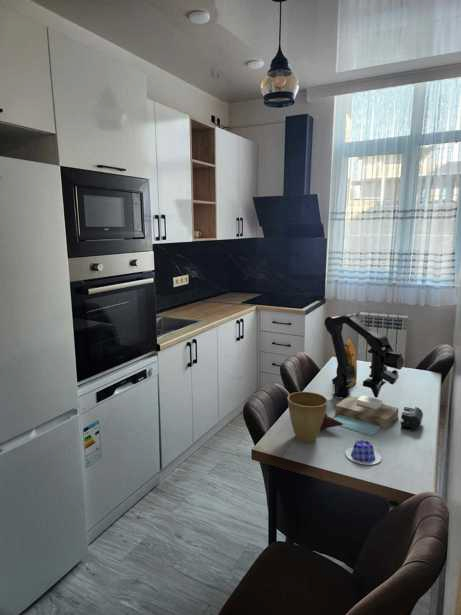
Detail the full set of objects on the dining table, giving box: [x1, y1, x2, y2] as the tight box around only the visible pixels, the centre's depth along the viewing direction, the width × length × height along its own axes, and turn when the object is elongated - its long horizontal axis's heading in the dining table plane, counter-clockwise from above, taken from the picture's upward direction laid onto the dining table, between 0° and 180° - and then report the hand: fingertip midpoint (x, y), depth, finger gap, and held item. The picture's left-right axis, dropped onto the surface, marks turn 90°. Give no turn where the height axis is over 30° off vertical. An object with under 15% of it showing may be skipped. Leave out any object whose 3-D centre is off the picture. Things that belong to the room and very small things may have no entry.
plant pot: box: [287, 391, 328, 443], centre depth 154 cm, size 15×15×16 cm
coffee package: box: [344, 339, 358, 387], centre depth 213 cm, size 10×12×22 cm
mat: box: [333, 414, 382, 437], centre depth 165 cm, size 18×9×1 cm, turn 50°
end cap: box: [400, 406, 424, 432], centre depth 164 cm, size 10×7×7 cm
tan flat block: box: [335, 395, 399, 429], centre depth 174 cm, size 22×14×4 cm, turn 50°
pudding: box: [345, 439, 382, 466], centre depth 142 cm, size 12×12×5 cm
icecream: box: [319, 413, 343, 431], centre depth 162 cm, size 7×7×15 cm
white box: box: [357, 395, 384, 409], centre depth 176 cm, size 9×6×2 cm, turn 50°
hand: (376, 397), depth 182 cm, fingers closed
